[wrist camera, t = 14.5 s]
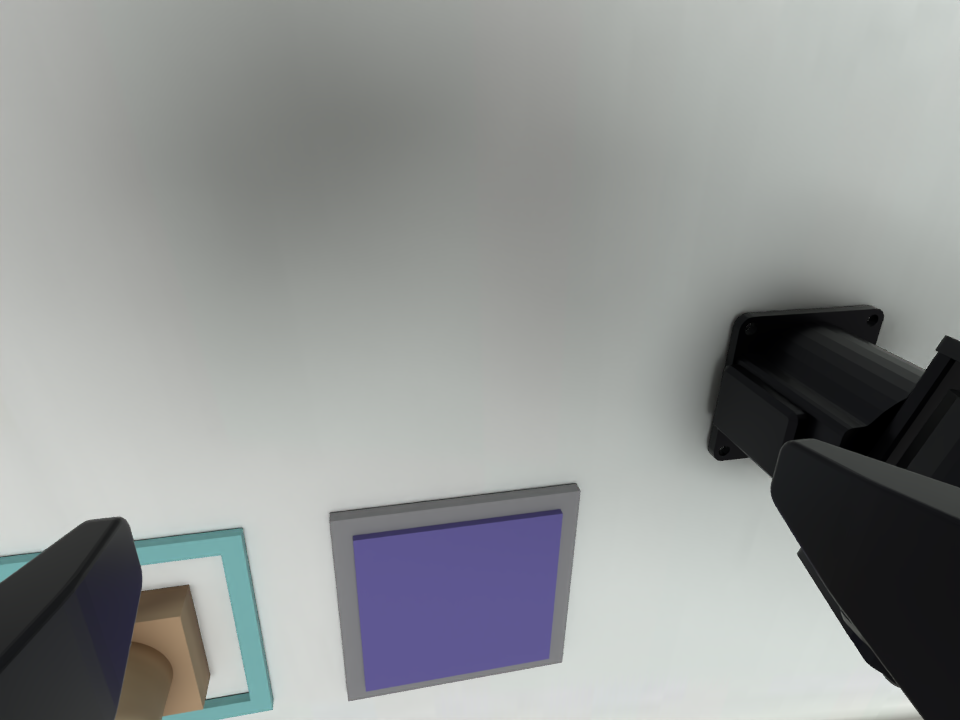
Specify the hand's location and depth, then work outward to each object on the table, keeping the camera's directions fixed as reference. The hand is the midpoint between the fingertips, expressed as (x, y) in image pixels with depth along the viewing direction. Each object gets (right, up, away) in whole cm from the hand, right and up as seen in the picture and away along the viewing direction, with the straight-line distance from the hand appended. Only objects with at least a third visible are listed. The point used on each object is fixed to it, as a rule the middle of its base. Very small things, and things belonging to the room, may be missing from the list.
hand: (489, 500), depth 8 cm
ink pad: (-1, -8, +18) cm, 20 cm away
